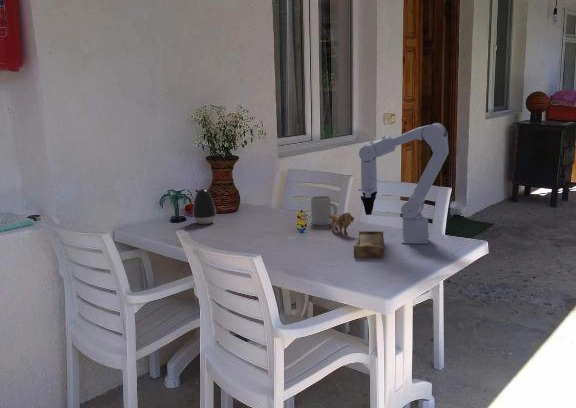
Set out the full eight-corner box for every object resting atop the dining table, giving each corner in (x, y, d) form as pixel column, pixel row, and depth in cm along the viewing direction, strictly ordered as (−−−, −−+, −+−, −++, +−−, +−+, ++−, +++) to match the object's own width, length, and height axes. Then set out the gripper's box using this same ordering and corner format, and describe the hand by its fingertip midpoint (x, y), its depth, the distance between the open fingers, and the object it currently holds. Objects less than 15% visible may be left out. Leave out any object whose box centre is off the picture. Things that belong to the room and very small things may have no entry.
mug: (307, 224, 252) (306, 198, 249) (318, 219, 258) (318, 195, 256) (331, 227, 245) (330, 201, 242) (342, 222, 251) (341, 197, 249)
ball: (374, 249, 207) (374, 240, 205) (373, 257, 204) (373, 248, 202) (362, 248, 208) (363, 239, 206) (361, 255, 205) (362, 247, 202)
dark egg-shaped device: (207, 219, 268) (205, 186, 265) (221, 222, 260) (219, 188, 257) (188, 223, 261) (186, 189, 258) (202, 227, 254) (199, 192, 250)
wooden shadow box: (384, 242, 219) (384, 231, 218) (382, 257, 201) (382, 245, 200) (358, 242, 221) (358, 231, 220) (354, 257, 203) (353, 245, 202)
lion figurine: (356, 234, 231) (356, 212, 230) (345, 237, 229) (345, 214, 227) (334, 227, 244) (333, 206, 242) (323, 230, 241) (322, 208, 239)
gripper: (359, 173, 229) (360, 208, 232) (356, 180, 215) (357, 216, 218) (378, 173, 228) (378, 208, 231) (376, 180, 214) (376, 216, 217)
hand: (369, 212), depth 224 cm, fingers open, 7 cm apart
